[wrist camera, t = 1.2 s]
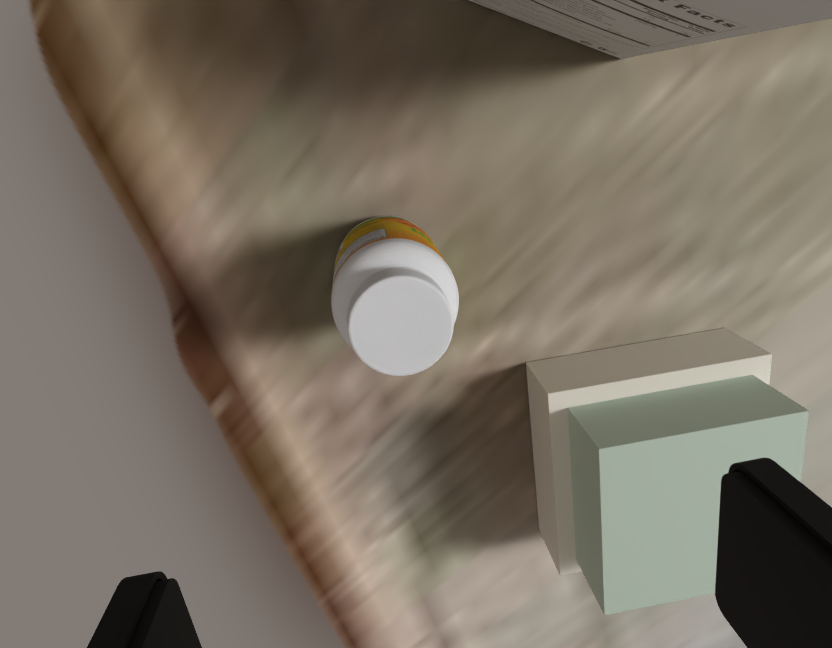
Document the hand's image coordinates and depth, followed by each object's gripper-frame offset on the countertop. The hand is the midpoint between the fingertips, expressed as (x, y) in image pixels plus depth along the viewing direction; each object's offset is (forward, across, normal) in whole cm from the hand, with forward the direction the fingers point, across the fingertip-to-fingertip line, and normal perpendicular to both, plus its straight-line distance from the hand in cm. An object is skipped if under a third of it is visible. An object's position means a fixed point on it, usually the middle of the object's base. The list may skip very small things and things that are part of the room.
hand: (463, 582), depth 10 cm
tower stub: (+22, -13, +13) cm, 29 cm away
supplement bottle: (+22, 0, 0) cm, 22 cm away
